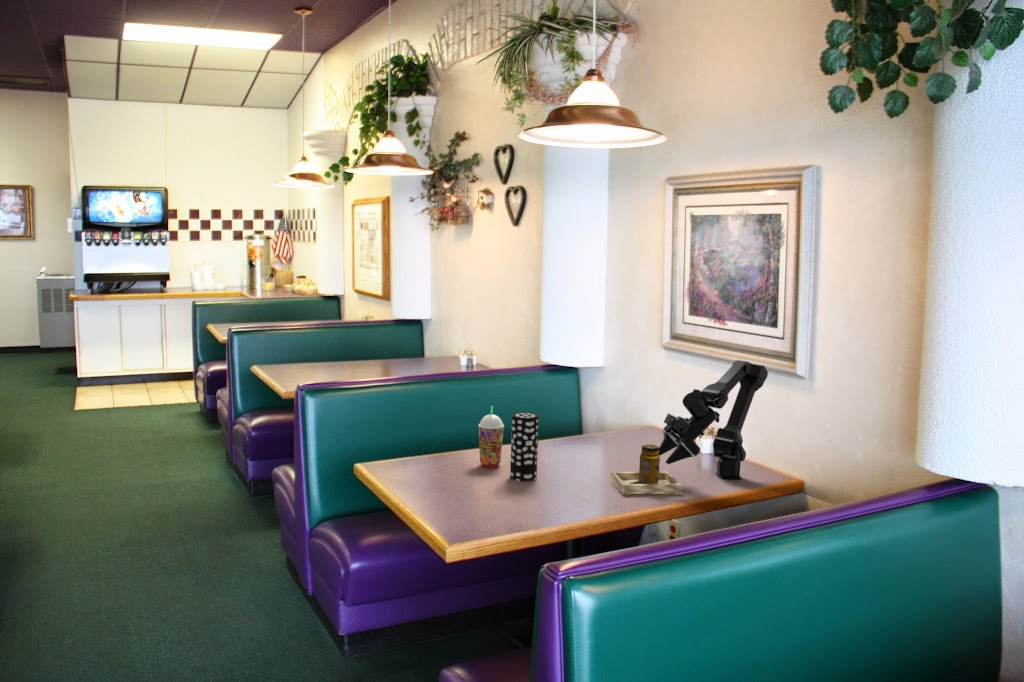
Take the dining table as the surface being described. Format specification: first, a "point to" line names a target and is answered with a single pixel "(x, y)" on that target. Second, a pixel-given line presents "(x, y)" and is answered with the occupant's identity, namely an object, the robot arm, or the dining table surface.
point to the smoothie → (490, 440)
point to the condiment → (649, 465)
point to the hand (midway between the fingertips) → (661, 459)
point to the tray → (664, 487)
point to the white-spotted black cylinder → (524, 446)
